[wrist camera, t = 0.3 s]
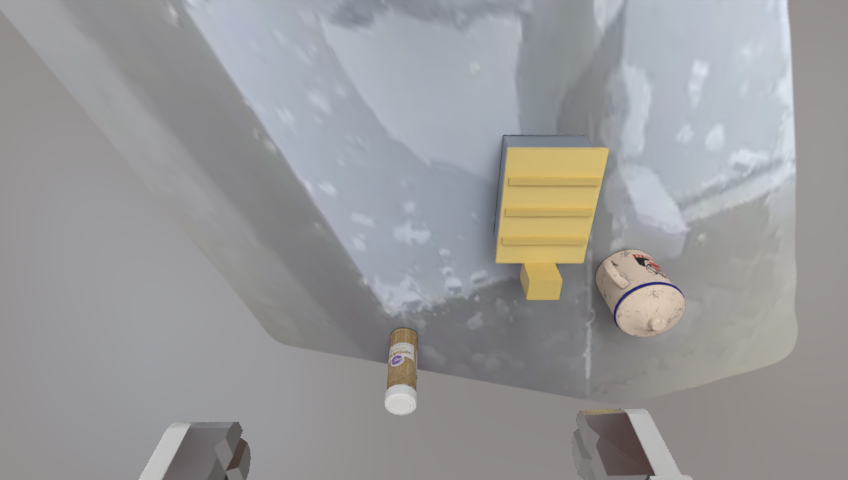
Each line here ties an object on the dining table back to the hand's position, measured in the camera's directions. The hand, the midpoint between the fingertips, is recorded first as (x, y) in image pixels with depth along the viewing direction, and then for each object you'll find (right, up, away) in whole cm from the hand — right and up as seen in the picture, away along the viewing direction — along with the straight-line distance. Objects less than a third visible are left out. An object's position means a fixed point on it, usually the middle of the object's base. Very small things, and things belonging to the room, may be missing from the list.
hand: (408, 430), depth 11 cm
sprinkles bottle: (-3, -11, +62) cm, 64 cm away
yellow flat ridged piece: (+15, +7, +44) cm, 47 cm away
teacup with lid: (+29, +1, +55) cm, 63 cm away
